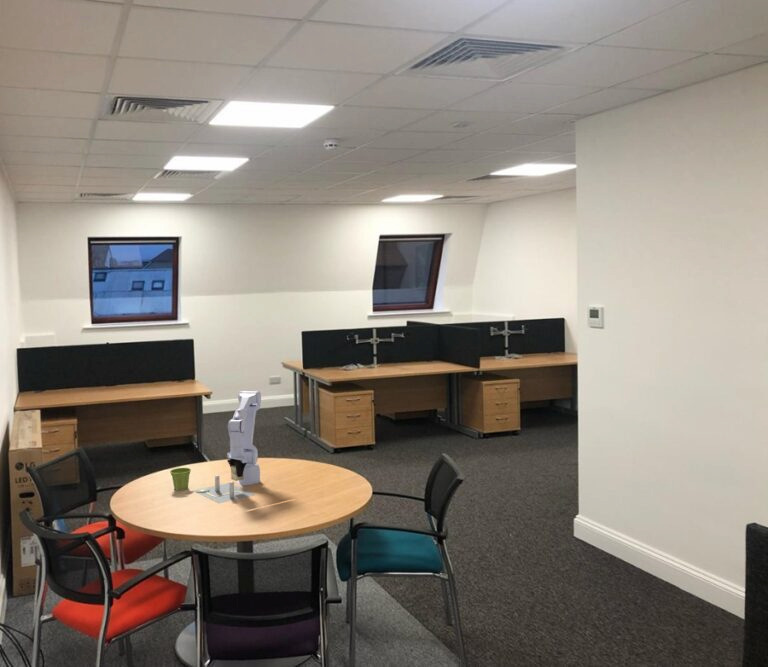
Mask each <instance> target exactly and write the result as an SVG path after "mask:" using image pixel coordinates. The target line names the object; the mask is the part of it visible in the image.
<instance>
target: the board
mask: <svg viewBox="0 0 768 667" xmlns="http://www.w3.org/2000/svg"><path fill="white" fill-rule="evenodd" d="M220 483H221V482H220V475H218V474H216V475H215V476H214V485H213V486H209V487H207V488H208V489H210V491H209V492H206V493H198V494H199V495H201V496H203V497H205V498H208V499H209V500H211V501H212V502H213V501H214V502H215V503H217V504H221V503H225V502H230V501H234V500H238V499H239V500H240V499H243V498H247V497H252V496H256V494H255V493H253V492H251V491H248V490H245V489H243V488H241V487H239V486H237V485H235V482H234V481H229V482H228V483H221V484H220ZM196 490H197V489H194V490H193V492H195V493H197V492H196Z"/></svg>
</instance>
